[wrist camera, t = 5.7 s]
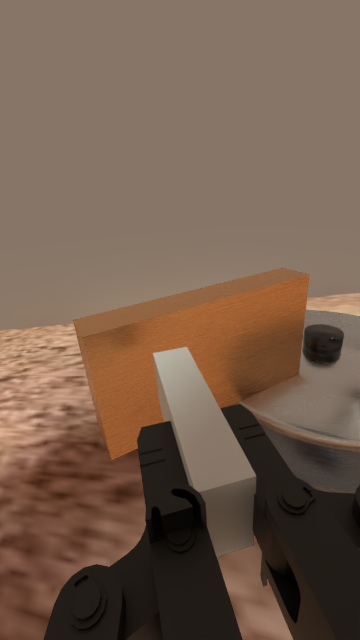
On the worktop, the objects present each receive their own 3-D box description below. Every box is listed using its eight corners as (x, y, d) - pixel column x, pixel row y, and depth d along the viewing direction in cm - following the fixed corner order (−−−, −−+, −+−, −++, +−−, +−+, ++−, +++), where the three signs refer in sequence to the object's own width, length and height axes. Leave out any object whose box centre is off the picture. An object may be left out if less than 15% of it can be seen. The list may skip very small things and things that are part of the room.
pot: (383, 401, 39) (405, 317, 34) (525, 561, 22) (607, 443, 17) (140, 411, 41) (127, 332, 36) (106, 563, 24) (73, 458, 19)
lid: (307, 306, 38) (315, 232, 34) (515, 381, 22) (572, 260, 19) (79, 383, 26) (53, 283, 23) (181, 646, 11) (153, 469, 7)
